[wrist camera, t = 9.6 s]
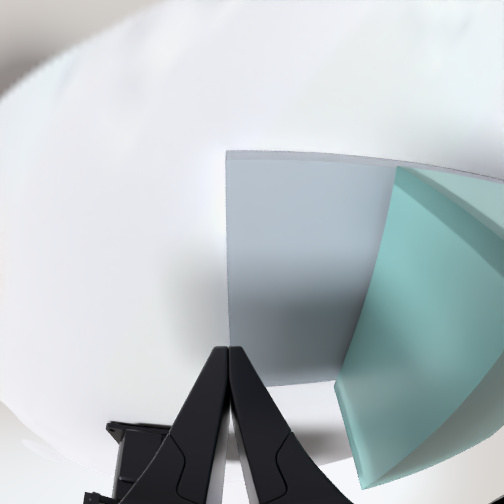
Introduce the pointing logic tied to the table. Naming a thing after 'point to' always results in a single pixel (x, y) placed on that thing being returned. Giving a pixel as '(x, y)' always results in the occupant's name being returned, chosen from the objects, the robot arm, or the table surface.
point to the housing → (428, 329)
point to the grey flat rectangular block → (303, 255)
